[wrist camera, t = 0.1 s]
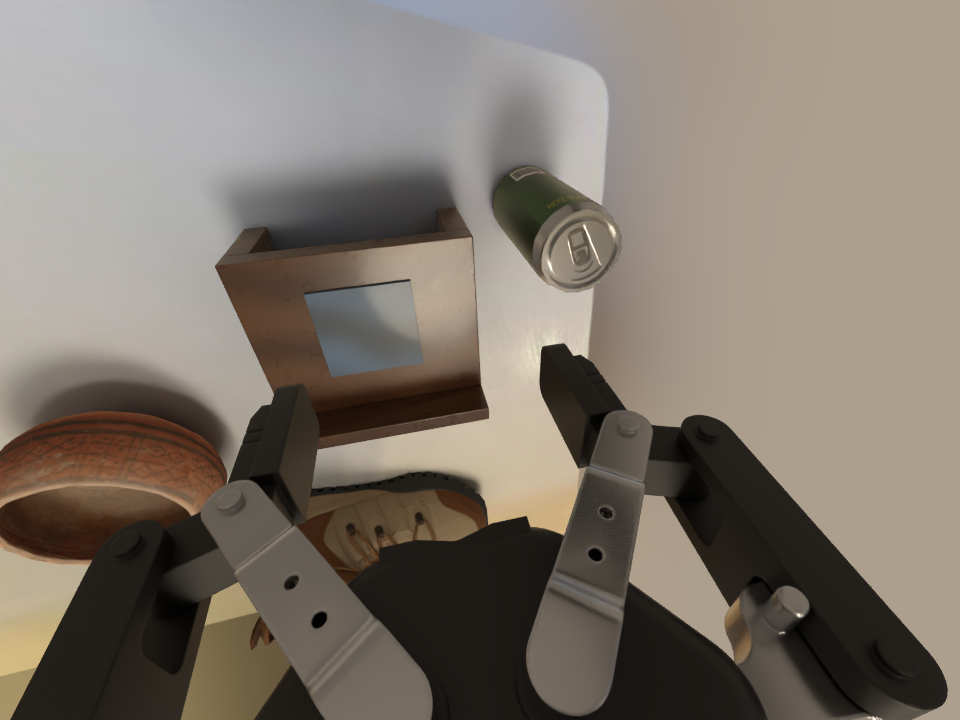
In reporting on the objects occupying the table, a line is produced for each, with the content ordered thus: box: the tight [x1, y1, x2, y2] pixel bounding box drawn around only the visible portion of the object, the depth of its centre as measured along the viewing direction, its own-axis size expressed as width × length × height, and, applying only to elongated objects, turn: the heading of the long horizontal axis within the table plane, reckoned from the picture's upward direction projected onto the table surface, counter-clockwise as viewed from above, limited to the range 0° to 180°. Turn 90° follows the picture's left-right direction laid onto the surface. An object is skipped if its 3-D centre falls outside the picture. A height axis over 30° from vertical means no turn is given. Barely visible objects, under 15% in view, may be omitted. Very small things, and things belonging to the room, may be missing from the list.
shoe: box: [250, 473, 488, 650], centre depth 45 cm, size 10×27×15 cm, turn 81°
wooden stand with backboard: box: [215, 207, 489, 449], centre depth 31 cm, size 14×16×10 cm
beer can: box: [493, 166, 621, 292], centre depth 28 cm, size 5×5×12 cm
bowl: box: [0, 411, 227, 565], centre depth 35 cm, size 16×16×10 cm
